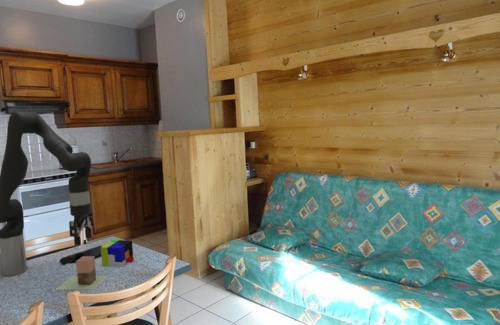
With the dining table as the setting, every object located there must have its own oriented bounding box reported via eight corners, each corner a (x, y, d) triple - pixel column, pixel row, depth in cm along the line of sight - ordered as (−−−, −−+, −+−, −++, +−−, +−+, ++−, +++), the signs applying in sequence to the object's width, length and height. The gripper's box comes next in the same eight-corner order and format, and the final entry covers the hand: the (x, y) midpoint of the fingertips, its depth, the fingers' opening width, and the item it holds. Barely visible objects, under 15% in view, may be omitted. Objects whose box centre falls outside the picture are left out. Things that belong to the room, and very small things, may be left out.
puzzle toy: (122, 269, 161) (120, 248, 160) (102, 268, 163) (100, 247, 162) (133, 260, 171) (132, 240, 169) (114, 259, 173) (113, 239, 171)
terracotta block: (77, 273, 143) (76, 261, 143) (83, 268, 148) (82, 256, 147) (89, 272, 143) (88, 261, 142) (95, 267, 148) (94, 256, 147)
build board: (55, 292, 141) (55, 289, 141) (72, 278, 153) (71, 276, 152) (94, 291, 140) (94, 288, 140) (108, 278, 152) (108, 275, 152)
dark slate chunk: (114, 253, 182) (113, 244, 182) (72, 269, 164) (71, 259, 163) (96, 248, 191) (95, 239, 190) (55, 262, 172) (54, 253, 172)
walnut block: (78, 285, 144) (77, 273, 143) (84, 279, 149) (83, 268, 148) (90, 284, 143) (89, 273, 143) (96, 279, 148) (95, 267, 148)
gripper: (80, 198, 149) (83, 236, 151) (60, 207, 135) (64, 248, 137) (97, 198, 149) (100, 235, 151) (79, 206, 135) (83, 248, 137)
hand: (83, 241), depth 144 cm, fingers open, 8 cm apart
